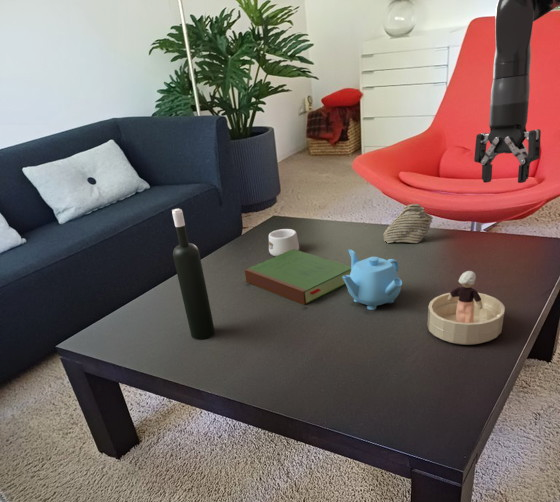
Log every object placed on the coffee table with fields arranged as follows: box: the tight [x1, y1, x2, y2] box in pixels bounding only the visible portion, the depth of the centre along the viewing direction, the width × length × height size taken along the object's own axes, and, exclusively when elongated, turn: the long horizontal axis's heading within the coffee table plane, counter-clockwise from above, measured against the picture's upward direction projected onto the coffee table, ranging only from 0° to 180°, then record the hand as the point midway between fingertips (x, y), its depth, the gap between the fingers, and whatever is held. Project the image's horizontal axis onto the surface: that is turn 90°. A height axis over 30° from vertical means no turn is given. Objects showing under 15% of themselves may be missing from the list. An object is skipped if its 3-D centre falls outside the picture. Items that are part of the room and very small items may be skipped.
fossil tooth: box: [383, 203, 434, 244], centre depth 160 cm, size 12×6×15 cm
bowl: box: [427, 292, 506, 346], centre depth 114 cm, size 15×15×6 cm
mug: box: [268, 228, 300, 257], centre depth 166 cm, size 12×10×6 cm
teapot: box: [342, 248, 403, 311], centre depth 128 cm, size 15×14×11 cm
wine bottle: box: [171, 207, 216, 340], centre depth 118 cm, size 6×6×30 cm
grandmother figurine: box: [448, 270, 483, 323], centre depth 112 cm, size 8×4×13 cm, turn 60°
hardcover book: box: [244, 249, 351, 306], centre depth 145 cm, size 25×19×4 cm
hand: (504, 182), depth 118 cm, fingers open, 8 cm apart
